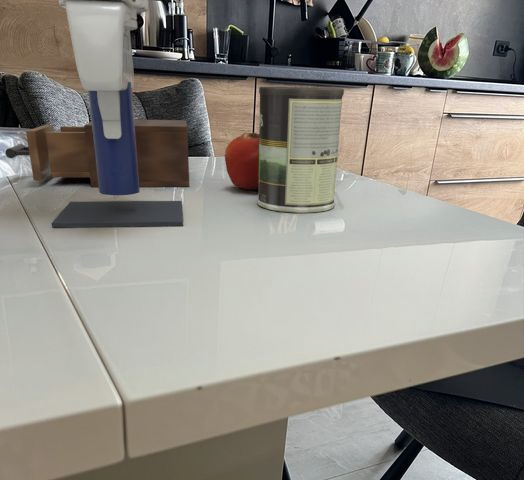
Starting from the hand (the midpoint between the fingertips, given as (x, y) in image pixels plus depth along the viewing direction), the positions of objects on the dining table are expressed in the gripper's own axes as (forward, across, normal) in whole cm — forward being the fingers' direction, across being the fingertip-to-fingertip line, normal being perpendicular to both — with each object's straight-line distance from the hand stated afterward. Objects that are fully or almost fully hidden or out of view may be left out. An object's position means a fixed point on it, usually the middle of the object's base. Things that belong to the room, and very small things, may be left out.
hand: (116, 135), depth 61 cm
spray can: (+6, 0, 0) cm, 6 cm away
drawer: (+8, -27, -10) cm, 30 cm away
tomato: (+9, -17, +18) cm, 26 cm away
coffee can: (+9, -5, +22) cm, 24 cm away
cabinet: (+9, -27, +1) cm, 28 cm away
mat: (+9, 0, 0) cm, 9 cm away
